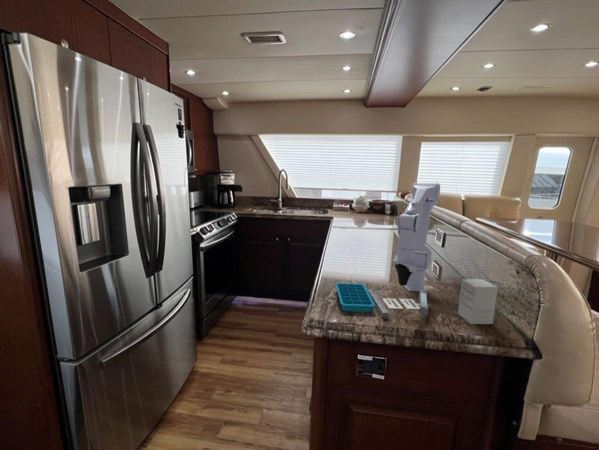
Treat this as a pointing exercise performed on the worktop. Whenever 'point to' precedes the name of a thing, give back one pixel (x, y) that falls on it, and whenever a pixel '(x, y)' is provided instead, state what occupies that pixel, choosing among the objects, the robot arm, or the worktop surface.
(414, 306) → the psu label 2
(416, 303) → the pivot base
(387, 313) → the rail
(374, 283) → the worktop surface
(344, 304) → the ice cube tray
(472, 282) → the supplement box
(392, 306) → the psu label
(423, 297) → the bar
